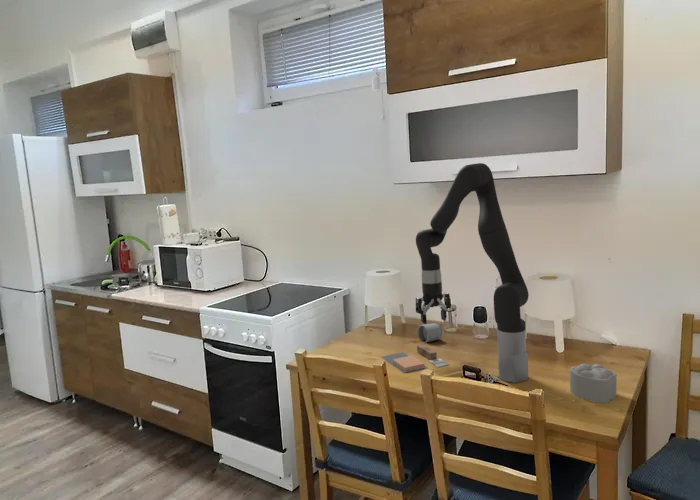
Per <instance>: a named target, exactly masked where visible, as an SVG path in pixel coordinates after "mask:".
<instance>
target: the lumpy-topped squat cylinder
mask: <svg viewBox="0 0 700 500" xmlns="http://www.w3.org/2000/svg"><path fill="white" fill-rule="evenodd" d="M617 385H618V383H617V373H616V372H615V371H614V370H611V369H609V368H605V367H604V366H603V365H602V364H599V363H594V364H592V365H591V364H588V363H581V364H579V365H573V366H571V367H570V369H569V389H570V391H569V392H571V394H573V395H574V396H575V397H577V398H579V399H583V400H586V401H590V402H594V403H599V404H601V403H602V404H606V403H609V402H611V400H612V399H615V398H617Z"/></svg>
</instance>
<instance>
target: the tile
mask: <svg viewBox="0 0 700 500" xmlns="http://www.w3.org/2000/svg"><path fill="white" fill-rule="evenodd" d="M393 364H395V365H396V366H397V367H399V368H400V369H402V370H403V371H405V372H407V371H412V370H416V369H421V368H425V366H426V365H425V363H424V362H423V361H421V360H419V359H418V358H416V357H415V356H413V355H408V356H407V357H402V358H397V359H393Z"/></svg>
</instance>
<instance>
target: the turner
mask: <svg viewBox="0 0 700 500" xmlns="http://www.w3.org/2000/svg"><path fill="white" fill-rule="evenodd" d="M416 348H417V349H416V351H417V352H416V353H417V354H419V355H421V356H423V357H424V358H426V359H428V363H430V364H431V365H433V366H434V367H437V368H442V367H446V366H449V365H450V363H448V362H447V361H445V360H443V359H442V358H437V357H438V356H437V352H436V351H435V350H432V349H431V348H429V347H427V346H426V345H424V344H419V345H417V346H416Z"/></svg>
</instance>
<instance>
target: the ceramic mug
mask: <svg viewBox="0 0 700 500" xmlns="http://www.w3.org/2000/svg"><path fill="white" fill-rule="evenodd" d="M417 336H418V340H419V341H425V342H424V343H426V344H427V343H431V342H435V341H439V340H440V339H441V338H442V336H443V331H442V328H441V326H440V325H439V324H438V323H427V324H421V325H419V326H418V328H417Z"/></svg>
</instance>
